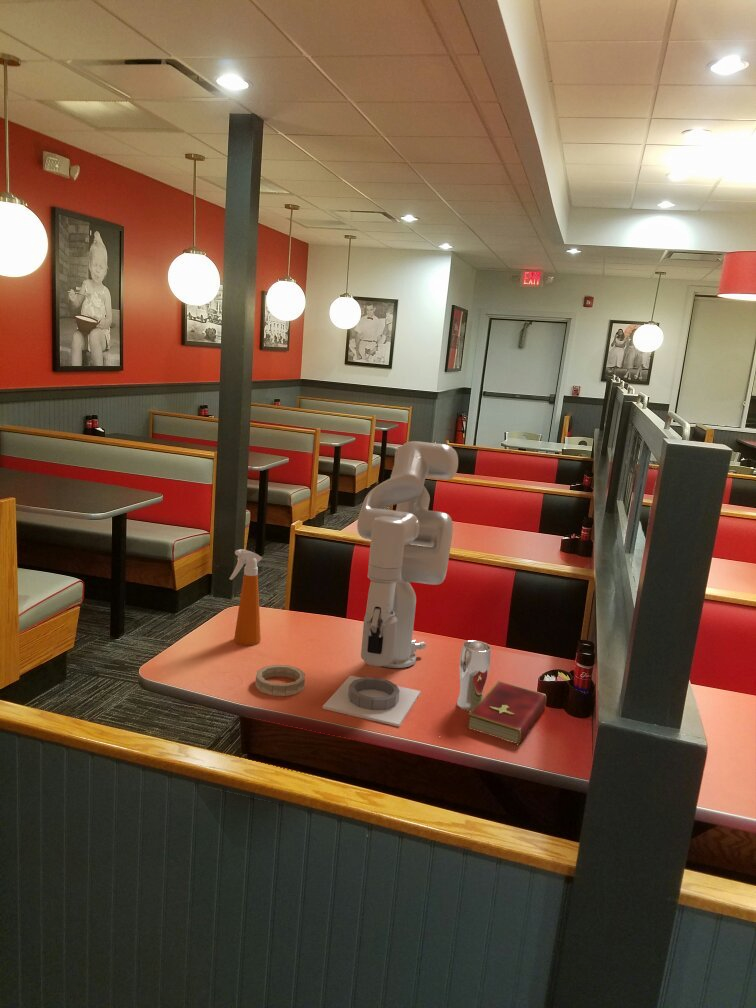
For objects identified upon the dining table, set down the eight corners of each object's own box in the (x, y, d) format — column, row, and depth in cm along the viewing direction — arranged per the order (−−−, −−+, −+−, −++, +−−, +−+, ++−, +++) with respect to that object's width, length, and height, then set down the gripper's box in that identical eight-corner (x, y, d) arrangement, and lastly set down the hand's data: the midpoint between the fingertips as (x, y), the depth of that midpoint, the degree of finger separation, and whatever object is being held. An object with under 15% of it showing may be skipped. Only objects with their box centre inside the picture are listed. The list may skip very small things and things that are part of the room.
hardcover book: (545, 709, 172) (547, 693, 172) (518, 747, 154) (521, 729, 153) (496, 695, 178) (498, 679, 177) (466, 730, 159) (468, 712, 158)
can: (399, 664, 165) (404, 614, 163) (371, 669, 161) (376, 618, 159) (381, 652, 171) (385, 604, 169) (354, 657, 167) (358, 607, 165)
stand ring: (290, 671, 180) (291, 661, 180) (312, 690, 171) (313, 680, 170) (248, 679, 174) (248, 669, 173) (268, 699, 165) (269, 689, 164)
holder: (350, 677, 179) (351, 666, 179) (420, 693, 174) (421, 681, 174) (322, 708, 163) (323, 695, 162) (399, 726, 157) (400, 713, 157)
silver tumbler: (465, 696, 175) (472, 637, 172) (490, 706, 171) (497, 646, 168) (449, 705, 170) (455, 644, 167) (474, 716, 165) (481, 654, 162)
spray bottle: (217, 643, 193) (222, 548, 188) (248, 633, 202) (252, 542, 196) (235, 651, 189) (240, 554, 184) (266, 641, 197) (271, 547, 192)
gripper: (376, 560, 171) (369, 631, 175) (360, 580, 155) (353, 657, 158) (407, 564, 170) (400, 635, 173) (394, 584, 153) (387, 663, 157)
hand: (378, 645), depth 166 cm, fingers closed on can, 7 cm apart
